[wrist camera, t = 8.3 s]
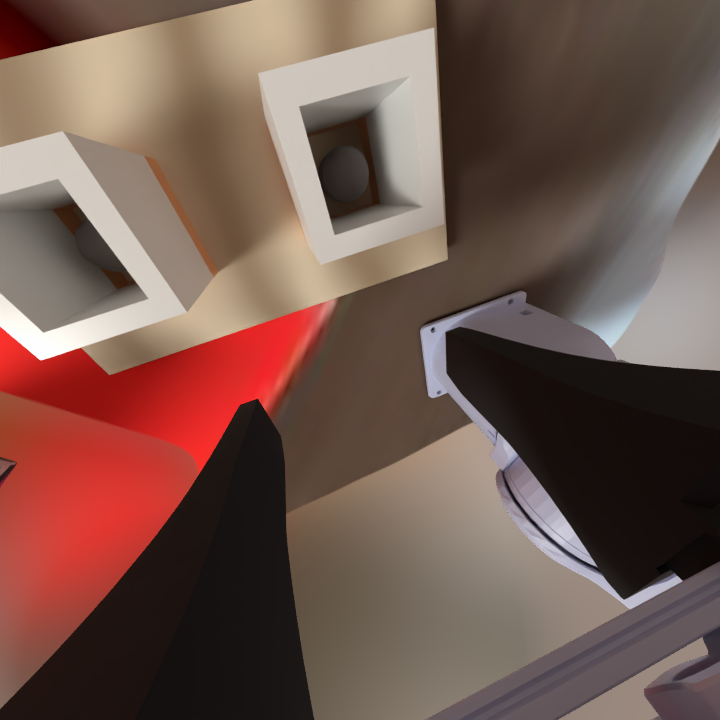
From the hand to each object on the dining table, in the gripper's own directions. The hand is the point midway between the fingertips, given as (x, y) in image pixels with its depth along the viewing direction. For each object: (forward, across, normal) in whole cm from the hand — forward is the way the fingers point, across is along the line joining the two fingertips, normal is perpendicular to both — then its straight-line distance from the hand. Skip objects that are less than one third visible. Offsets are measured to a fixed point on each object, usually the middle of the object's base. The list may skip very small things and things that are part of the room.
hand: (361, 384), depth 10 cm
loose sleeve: (+9, -3, -6) cm, 11 cm away
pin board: (+10, +2, -6) cm, 12 cm away
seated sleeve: (+9, +7, -6) cm, 13 cm away
